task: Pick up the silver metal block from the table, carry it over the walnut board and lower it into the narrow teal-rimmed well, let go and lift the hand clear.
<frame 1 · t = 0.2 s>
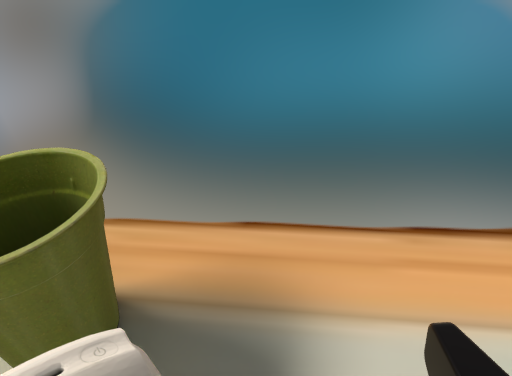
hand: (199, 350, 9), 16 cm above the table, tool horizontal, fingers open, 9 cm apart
plant pot: (68, 333, 31), on the table
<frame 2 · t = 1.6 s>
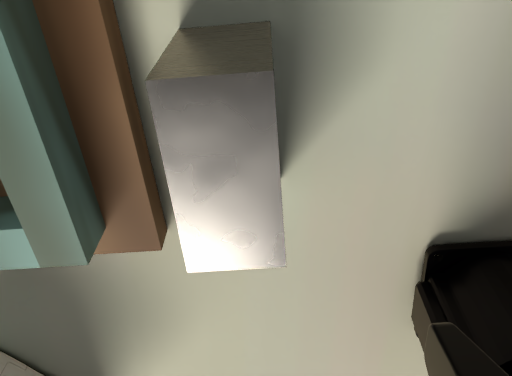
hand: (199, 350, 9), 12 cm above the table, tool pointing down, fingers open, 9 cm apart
silver metal block: (234, 110, 19), on the table
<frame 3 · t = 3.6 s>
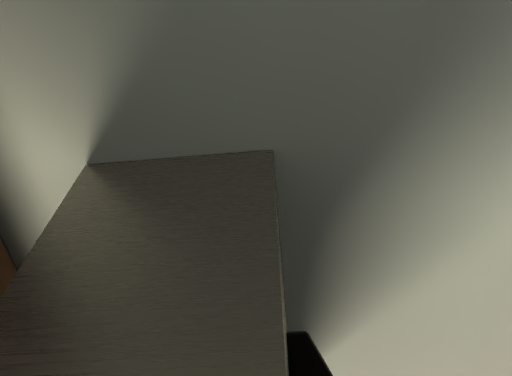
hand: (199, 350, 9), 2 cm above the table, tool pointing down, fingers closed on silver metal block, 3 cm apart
silver metal block: (206, 293, 10), on the table, touching gripper
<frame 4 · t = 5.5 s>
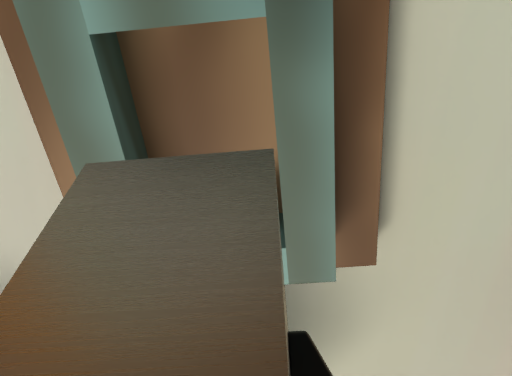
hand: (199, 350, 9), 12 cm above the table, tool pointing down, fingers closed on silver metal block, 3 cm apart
silver metal block: (207, 292, 10), point 11 cm above the table, touching gripper
well board: (211, 112, 20), on the table
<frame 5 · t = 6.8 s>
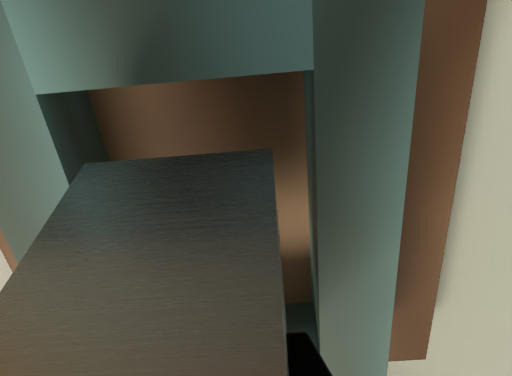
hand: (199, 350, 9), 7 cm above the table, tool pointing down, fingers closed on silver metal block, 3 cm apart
silver metal block: (205, 292, 10), point 5 cm above the table, touching gripper
well board: (218, 174, 15), on the table
when the fingers open (5 cm above the table, at t = 7.6 s): silver metal block drops 2 cm, resting on well board.
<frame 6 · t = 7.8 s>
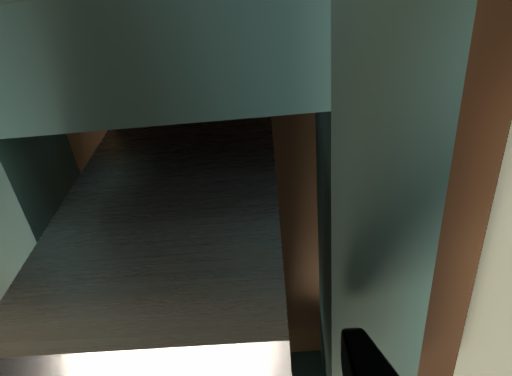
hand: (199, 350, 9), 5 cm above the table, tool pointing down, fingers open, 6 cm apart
silver metal block: (212, 243, 12), point 2 cm above the table, touching well board
well board: (215, 210, 13), on the table
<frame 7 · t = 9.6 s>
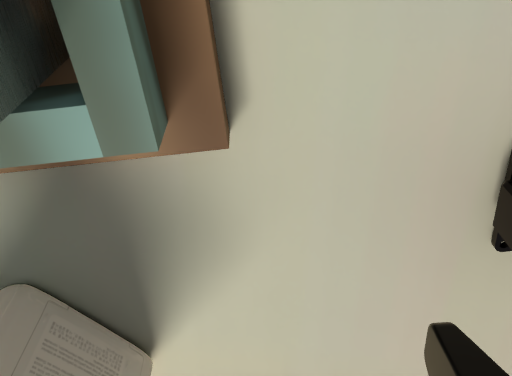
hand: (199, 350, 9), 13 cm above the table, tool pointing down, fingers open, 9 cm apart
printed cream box: (76, 329, 27), on the table
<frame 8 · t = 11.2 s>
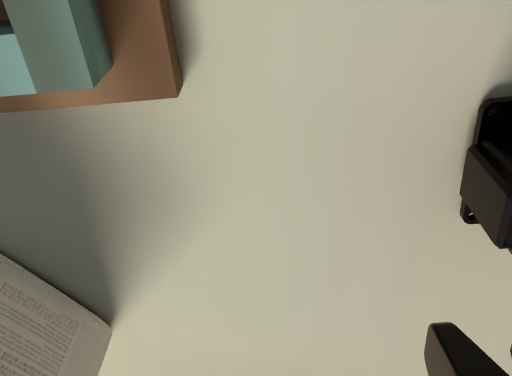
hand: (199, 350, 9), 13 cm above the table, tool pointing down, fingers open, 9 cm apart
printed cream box: (35, 295, 27), on the table
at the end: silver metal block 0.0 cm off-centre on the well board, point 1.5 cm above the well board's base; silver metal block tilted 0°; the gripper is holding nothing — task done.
